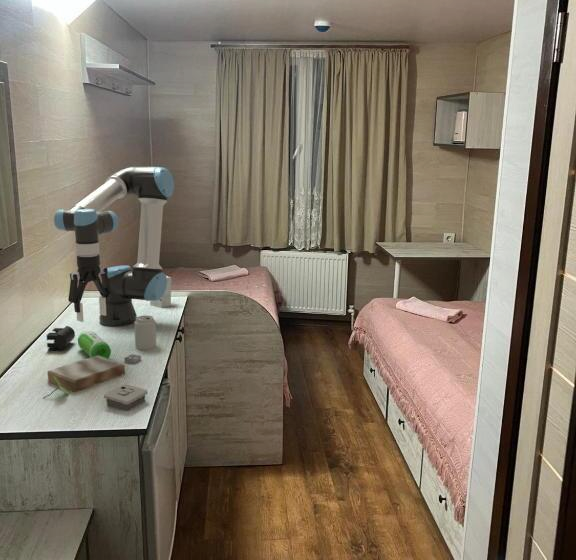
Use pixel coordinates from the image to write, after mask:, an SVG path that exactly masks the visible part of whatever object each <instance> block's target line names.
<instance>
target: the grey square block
mask: <svg viewBox="0 0 576 560" xmlns="http://www.w3.org/2000/svg"><path fill="white" fill-rule="evenodd" d="M141 361H142V355H139V354H132V353H131V354H129V355H127V356H126V357H124V363H125V362H126V363H125V364H131V363H133V364H132V365H135V363H136V364H137V363H139V362H141Z"/></svg>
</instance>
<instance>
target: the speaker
mask: <svg viewBox="0 0 576 560" xmlns="http://www.w3.org/2000/svg"><path fill="white" fill-rule="evenodd" d="M77 345H78V347H79V348H80V349H81V350H82V351H84V353H85V354H87V355H88V356H89V358H91V357H94V356H97V355H98V356H101V357H104V358H106V359H109V358H110V356H111V353H112V351H111V347H110V345H109V343H108V342H106V341H104V340H103V339H102V338H101V337H100V336H99V335H98V334H97V333H96V332H94V331H92V330H85V331H82V332H81V333H80V334H79V335H78V337H77Z"/></svg>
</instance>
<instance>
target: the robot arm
mask: <svg viewBox="0 0 576 560" xmlns="http://www.w3.org/2000/svg"><path fill="white" fill-rule="evenodd" d="M174 190H175V182H174V178H173V175H172V173H171V171H170V170H169V169H167V168H166V167H160V166H139V165H137V166H136V165H135V166H134V165H133V166H128V167H125V168H123V169H120V170H118V171H117V172H114V173H112V174H111V175H110V176H108V177H107V178H106V179H105V182H104V183H103V184H102V185H101V186H99V187H98V188H96V189H95V190H94V191H92V192H91V193H89V194H88V195H87V196H86V197H84V198H83V199H82V200H80V201H79V202H77V203H76V204H75V205H73V206H72V207H70V208H69V209H66V208H63V209H57V211H56V212H55V213H54V214H53V222H54V227H56V229H57V230H60V231H64V232H65V231H66V232H74V235H75V251H76V253H75V254H76V265H77V270H76V271H77V272H74V273H72V272H71V273H70V274H69V278H70V283H69V291H68V302H69V303H73V307H74V312H75V313H76V321H78V322H81V323H83V322H84V321H85V320H84V307H83V303H82V301H81V300H82V297H83V295H84V292H85V289H86V286H88V283H90V282H93V283H94V285H95V287H96V289H97V291H98V293H99V294H100V296H98V301H99V302H98V304H99V319H98V320H99V321H98V322H99V324H101V325H102V326H106V327H122V326H123V327H124V326H128V325H129V326H130V325H133V324H134V322H135V321H136V318H137V317H138V315H137V313H136V310H135V307H134V304H133V300H137V301H138V300H141V301H146V302H150V301H157V300H159V299H160V298H161V297H162V296H163V295H164V293H165V290H166V287H167V279H166V278H167V277H166V276H167V274H165V273H164V272H163V267H162V266H161V265H160V253H161V240H162V238H161V237H162V228H163V227H162V226H163V225H162V224H163V211H164V205H165V204H166V203H167V202H168V198H169V197H171V196H173V194H174V192H175V191H174ZM126 196H137V200H138V201H139V202H140V203H141V204H140V205H141V206H140V207H141V208H140V219H139V220H140V222H139V235H138V247H137V248H138V250H137V260H136V261H137V262H136V263H135V264H134V265H133V266H132V268H131V266H130V265H116V266H111V267H104V266H103V267H100V265H101V260H100V259H101V258H100V257H101V256H100V242H99V241H100V240H99V235H103V234H107V233H108V234H109V233H111V232H113V231H115V230H116V229H117V228H118V226H119V222H120V221H119V218H118V215H117V214H116V213H115V212H114V211H112V210H105V209H106V208H107V207H109V206H110V205H111V204H113V203H114V202H115V201H116V200H118V199H123V198H125V197H126ZM99 274H100V276H99Z"/></svg>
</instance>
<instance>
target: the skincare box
mask: <svg viewBox="0 0 576 560" xmlns="http://www.w3.org/2000/svg"><path fill="white" fill-rule="evenodd" d="M166 277H167V278H166V279H167V287H166V290H165V293H164V295H163V296H162V297H161V298H160V299H159V300H157V301H149V302H150V303H149V304H150V306H152V307H155V308H156V307H157V308H159V309H163V308H166V307H170V306H172V277H171V276H168V275H166Z"/></svg>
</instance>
